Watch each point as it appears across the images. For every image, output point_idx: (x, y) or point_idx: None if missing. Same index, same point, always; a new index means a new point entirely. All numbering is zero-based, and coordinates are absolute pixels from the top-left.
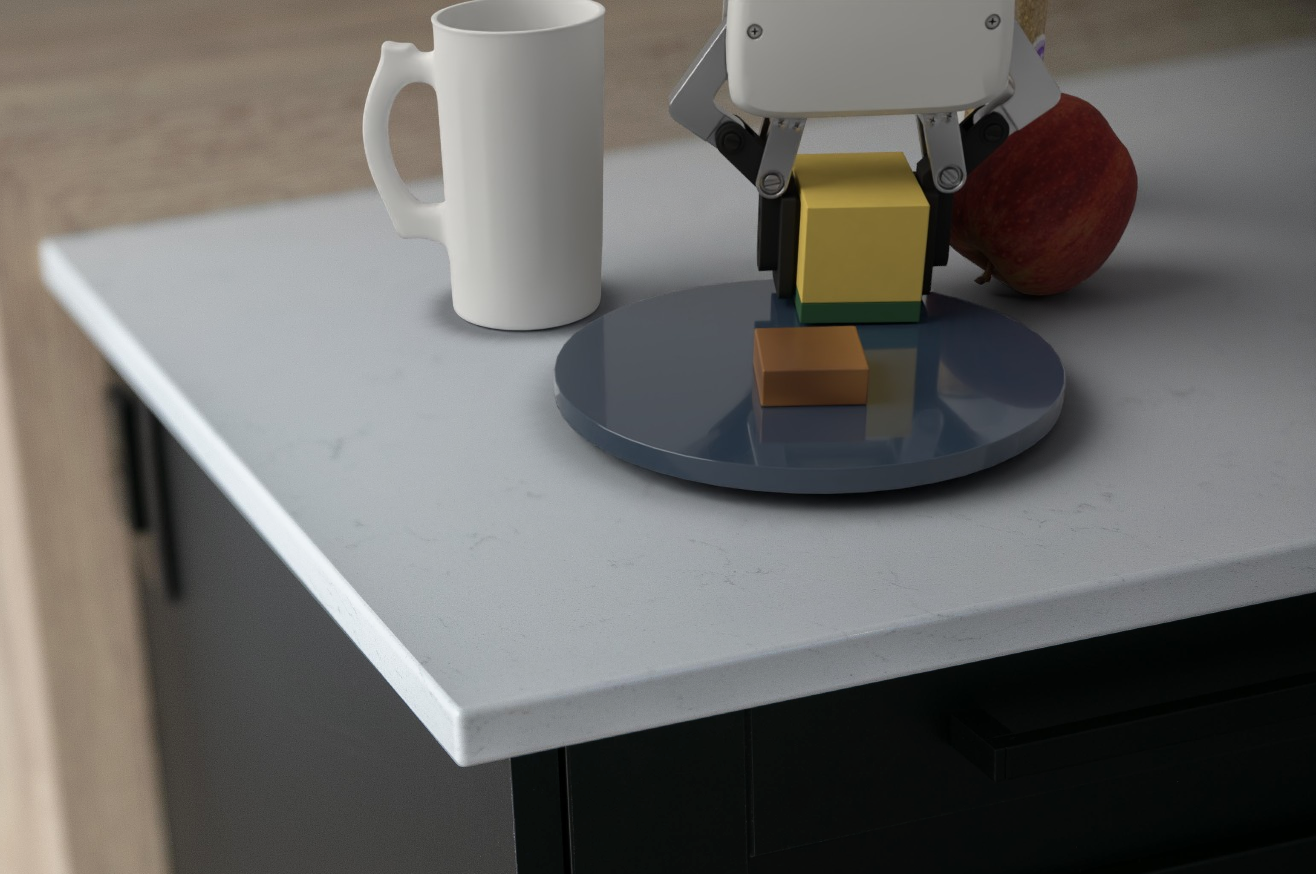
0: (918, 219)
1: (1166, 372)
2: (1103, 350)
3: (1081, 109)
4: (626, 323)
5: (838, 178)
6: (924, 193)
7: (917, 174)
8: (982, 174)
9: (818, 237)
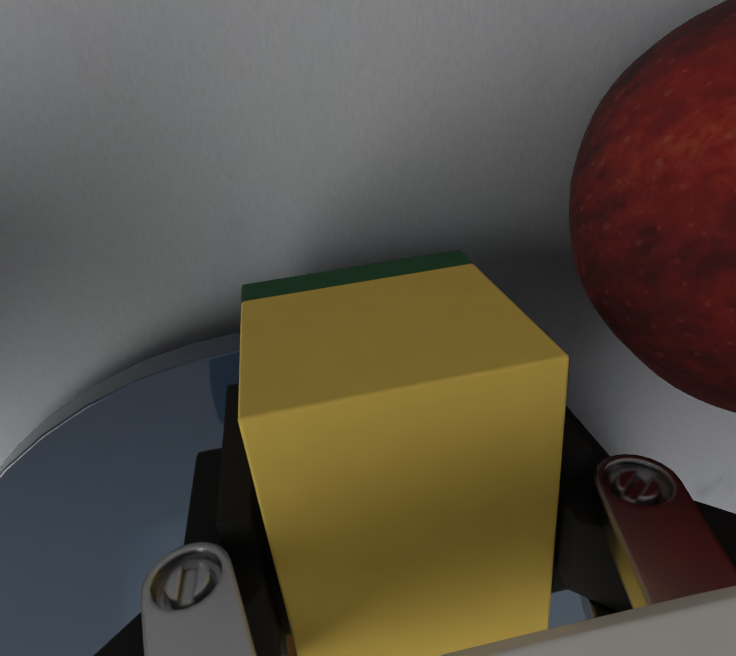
0: None
1: (717, 442)
2: (678, 391)
3: None
4: (13, 565)
5: (381, 580)
6: (553, 583)
7: (563, 520)
8: (714, 389)
9: None
